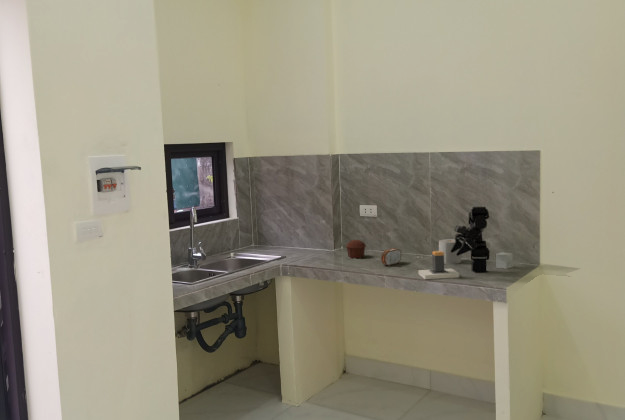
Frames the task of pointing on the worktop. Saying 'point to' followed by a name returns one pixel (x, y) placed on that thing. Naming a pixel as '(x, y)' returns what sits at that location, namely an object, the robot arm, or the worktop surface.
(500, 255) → the product box
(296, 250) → the worktop surface
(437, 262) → the plug
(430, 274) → the socket plate
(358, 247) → the muffin
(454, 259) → the toilet paper roll
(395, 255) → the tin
